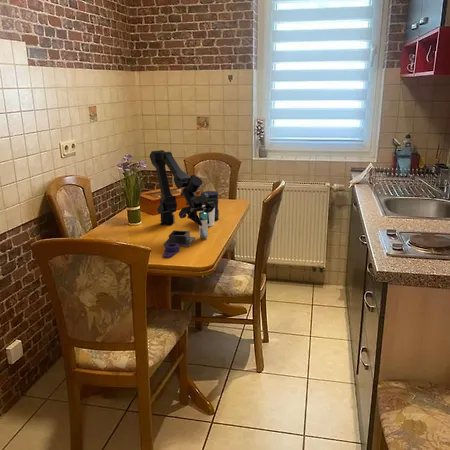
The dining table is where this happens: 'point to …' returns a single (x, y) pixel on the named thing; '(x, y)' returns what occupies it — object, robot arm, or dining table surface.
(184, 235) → the docking mount
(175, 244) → the lever
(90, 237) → the dining table surface
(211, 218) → the white cup
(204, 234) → the teal and silver cylinder
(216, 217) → the storage jar
